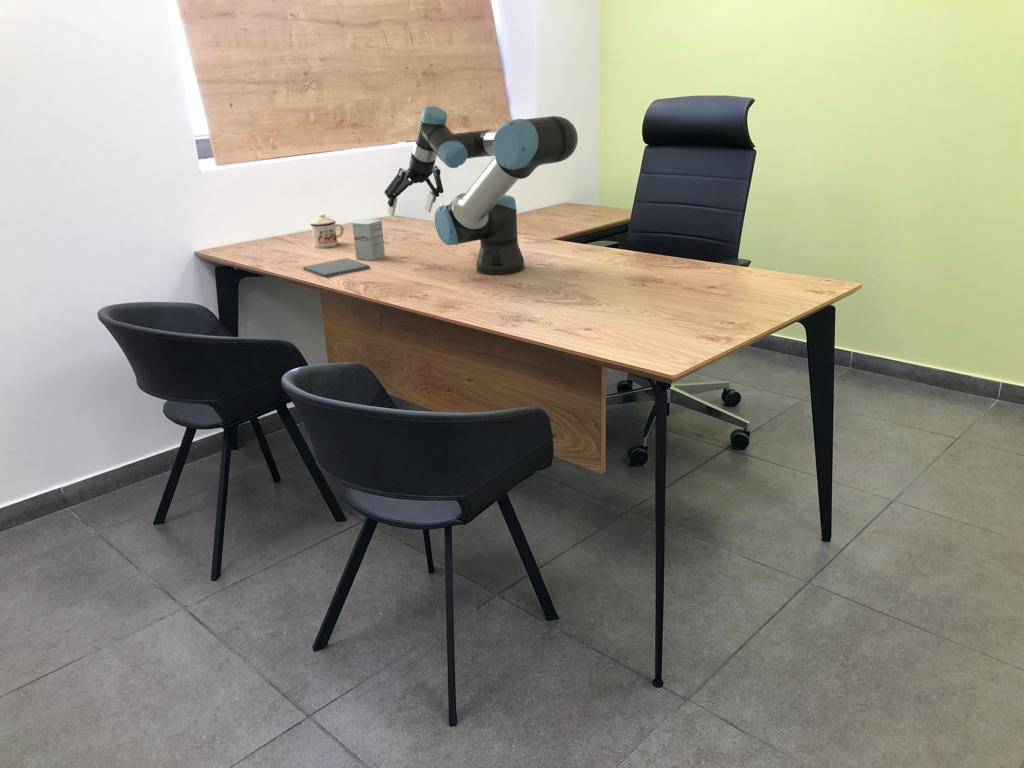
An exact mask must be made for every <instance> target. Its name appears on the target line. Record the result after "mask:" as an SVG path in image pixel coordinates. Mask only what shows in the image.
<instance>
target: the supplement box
mask: <svg viewBox="0 0 1024 768" xmlns="http://www.w3.org/2000/svg"><path fill="white" fill-rule="evenodd" d="M382 221H383V220H382V219H361V220H357V221H354V222H351V223H352V230H353V231H352V232H353V241H354V242H353V243H354V251H355V259H356V260H367V261H376V260H378V258H379V259H380V257H381V258H384V257H385V256H386V254H385V242H384V233H383V231H384V230H383V225H382V223H383V222H382ZM383 256H384V257H383Z"/></svg>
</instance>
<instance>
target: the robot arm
mask: <svg viewBox="0 0 1024 768" xmlns="http://www.w3.org/2000/svg"><path fill="white" fill-rule="evenodd" d="M447 118H448V114H447V113H446V111H445V110H443V108H441V107H438V106H434V105H433V106H432V105H431V106H425V108H423V109H422V112H421V115H420V118H419V121H418V125H417V131H416V135H415V140H414V143H413V147H412V151H411V154H410V159H409V165H408V169H403V168H402V167H400V168H399V169H398V172H397V174H396V176H395V177H394V178H393V180H392V181H391V182H390V183H389V185H388V186H387V188H386V189H385V190H384V194H385V196H386V197H387V199H388V200H387V205H388V209H387V212H388V214H389V216H391V217H395V216H394V215H395V212H396V208H397V204H398V203H397V202H398V197H399V196H400V195H401V194H402V193H403V192H404V191H405V190H406V189H407V188H409V186H413V184H418V183H420V184H422V183H424V182H425V183H426V184H427V185H428V187H429V189H430V190H429V191H428V194H427V198H426V202H425V205H424V209H425V210H426V211H427V213H429V214H430V213H431V212H432V208H433V204H434V203H435V202H436V200H437V198H439V196H440V194H443V193H444V191H445V190H444V187H443V183H442V179H441V169H440V168H439V167H438V165H435V163H436V159H437V157H438V159H439V160H440V161H441V162H443V163H444V165H446V166H447V168H450V169H456V168H459V166H462V165H464V164H465V163H466V161H467V159H473V158H482V157H483V158H485V157H493V159H491V161H490V162H489V163H488V164H487V165H486V167H485V169H484V170H483V171H482V172H481V174H480V175H479V176H478V177H477V179H475V181H474V182H473V184H472V185H471V186H470V187H469V188H468V190H467V191H466V192H464V193H460V194H458V195H457V196H456V197H454V198H453V200H452V201H451V202H450V203H449V204H448V205H441V206H438V207H437V208H436V210H435V211H434V212H435V213H434V227H435V231H436V233H437V236H438V237H439V240H441V242H442V243H444V244H445V245H446V246H457V245H459V244H465V243H469V242H470V243H471V242H475V241H480V247H479V251H478V255H477V260H476V264H475V267H476V272H478V273H480V274H484V275H507V274H508V275H509V274H515V273H518V272H521V271H523V270H524V269H525V260H524V258H523V257H524V256H523V254H522V252H521V251H522V250H521V248H520V245H519V241H518V239H519V237H518V221H517V217H518V216H517V211H518V209H517V205H516V203H517V202H516V199H515V198H514V196H511V195H507V193H508V191H509V190H510V189H511V188H512V187H513V186H514V185H515V184H516V182H518V180H522V179H526V178H528V177H530V176H531V174H532V173H533V172H534V171H536V169H537V168H538V167H539V166H542V165H548V164H549V165H550V164H555V163H556V164H557V163H559V162H564V161H565V160H567V159H569V158H570V157H571V156H572V155H574V152H575V151H576V149H577V147H578V141H579V139H578V132H577V131H578V130H577V129H576V127H575V126H574V124H573V122H571V121H570V119H569V120H568V118H565V117H563V116H558V115H554V116H553V115H552V116H544V117H543V116H542V117H534V118H517V119H512V120H508V121H506V122H503V123H502V124H501V125H500V126H499V127H498V128H497V129H496V128H494V129H485V130H476V131H467V132H466V131H465V132H457V133H453V132H452V131H451V130H450V128H449V127H447V122H448V121H447V120H448V119H447ZM432 174H433V178H434V182H435V186H436V187H435V186H434V184H433V183H432V181H431V180H430V178H429V177H430V176H432ZM409 179H410V180H409Z"/></svg>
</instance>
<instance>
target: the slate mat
mask: <svg viewBox="0 0 1024 768" xmlns="http://www.w3.org/2000/svg"><path fill="white" fill-rule="evenodd" d="M368 268H369V269H370V265H369V264H367V263H366V264H365V263H363V262H360V261H357V260H353V259H351V258H348V257H345V258H340V259H336V260H331V261H330V260H329V261H326V262H320V263H314V264H311V265H310V264H309V265H305V266H303V268H302V269H303V270H304V271H306V272H309V273H311V274H314V275H316V274H317V275H316V276H319V275H320V276H319V277H322V276H323V277H322V278H324V277H326V278H330V277H329V276H331V277H334V275H335V276H340V275H344V273H345V274H348V272H350V273H354V272H353V271H355V272H358V270H360V271H364V270H368ZM339 274H340V275H339Z"/></svg>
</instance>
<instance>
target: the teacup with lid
mask: <svg viewBox="0 0 1024 768" xmlns="http://www.w3.org/2000/svg"><path fill="white" fill-rule="evenodd" d="M318 216H319V217H317V218H315V219H313V220H312V221H310V226H311V232H312V240H313V246H314V247H315V248H318V249H326V248H327V249H329V248H332V247H336V246H338V238H340V237H342V236H343V234H344V232H345V230H344V226H343V225H342V224H340V223H337V222H336V220H335V219H333V218H330V217H328V216H326V214H325V213H321V214H319V215H318ZM336 227H340V230H341V231H340V233H339V234H338V235H337V228H336Z"/></svg>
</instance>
